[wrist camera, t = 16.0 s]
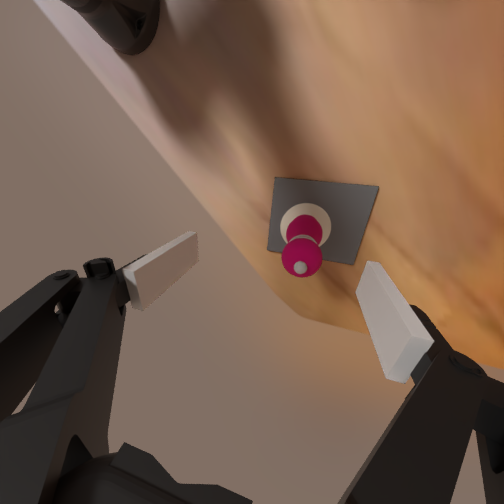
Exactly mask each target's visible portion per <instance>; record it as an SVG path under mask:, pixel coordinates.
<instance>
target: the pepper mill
mask: <svg viewBox="0 0 504 504" xmlns="http://www.w3.org/2000/svg"><path fill="white" fill-rule="evenodd" d="M322 236H323V231H322V227H321V225H320V223H319V222H318V221H317V220H316V219H315V218H314V217H313V216H311V215H307V214H304V215H300V216H297V217H296V218H295V219H294V220H293V221H292V222H291V223H290V224H289V225H288V227H287V231H286V239H287V242H288V243H287V245H286V246H285V247H284V249H283V252H282V263H283V266H284V268H285V269H286V270H287V271H288V272H289V273H290V274H292V275H294V276H297V277H308V276H311V275H313V274H314V273H315V272H316V271H317V270H318V269H319V268H320V266H321V264H322V252H321V249H320V247H319V246H318V245H319V244H320V242H321V240H322Z"/></svg>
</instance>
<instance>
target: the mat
mask: <svg viewBox="0 0 504 504" xmlns="http://www.w3.org/2000/svg"><path fill="white" fill-rule="evenodd" d="M378 188H379V186H369V185H358V184H346V183H335V182H323V181H312V180H300V179H289V178H277V177H275V181H274V191H273V200H272V209H271V219H270V228H269V237H268V246H267V250H269V251H275V252H281V253H282V252H283V249H284V247H285V246H286V245H287V243H288V242H287V239H286V231H287V227H288V225H289V224H290V223H291V222H292V221H293V220H294V219H295V218H296V217H297V216H300V215H304V214H307V215H311V216H313V217H314V218H315V219H316V220H317V221H318V222H319V223H320V225H321V227H322V231H323V236H322V240H321V242H320V244H319V245H318V246H319V247H320V249H321V252H322V260H327V261H333V262H339V263H345V264H350V265H353V264H354V261H355V258H356V255H357V252H358V249H359V246H360V243H361V240H362V237H363V234H364V231H365V228H366V225H367V221H368V218H369V215H370V212H371V209H372V206H373V203H374V200H375V197H376V194H377V191H378Z"/></svg>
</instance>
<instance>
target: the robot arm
mask: <svg viewBox="0 0 504 504" xmlns="http://www.w3.org/2000/svg"><path fill="white" fill-rule="evenodd" d="M61 1H62V2H64V3H65V4H67V5H68V6H70V7H71V8H73V9H74V10H76V11H77V12H78V13H79V14H80V15H81V16H82V17H83V18H84V19H85V20H86V21H87V23H88V24H89V25H90V26H91V27H92V28H93V29H94V30H95V31H96V32H97V33H98V34H99V35H100V37H101V38H102V39H103V40H104V41H105V42H107V43H108V44H109V45H110V46H112V47H114V48H115V49H117V50H119V51H120V52H122V53H125V54H129V55H134V54H138V53H140V52H142V51H143V50H145V49H146V48H147V47H148V45H149V44H150V43H151V41H152V39H153V37H154V35H155V32H156V29H157V25H158V19H159V0H61ZM198 257H199V256H198V241H197V232H192V231H188V232H186V233H184V234H183V235H181V236H179V237H177V238H175V239H174V240H172V241H170V242H168V243H167V244H165V245H163V246H162V247H160V248H158V249H156V250H154V251H153V252H151V253H149V254H146V255H143V256H141V257H140V258H138V259H137V260H134V261H133V262H132V263H129V264H127V265H125V266H124V267H122V268H120V269H118V270H116V271H115V267H114V264H113V260H112V259H110V258H97V259H93V260H90V261H88V262H86V263H85V264H84V265H83V267H84V270H85V272H86V275H87V278H79V276H78V274H77V271H75V270H61V271H57V272H56V273H53V274H51V275H49V276H47V277H46V278H45V279H44V280H42V281H41V282H39V283H38V284H37V285H35V286H34V287H33V288H32V289H30V290H29V291H27V292H26V293H25V294H24V295H22V296H21V297H20V298H18V299H17V300H16V301H14V302H13V303H12V304H10V305H9V306H8V307H6V308H5V309H4V310H2V311H1V312H0V504H252V502H253V501H252V500H249V499H247V498H245V497H243V496H241V495H239V494H237V493H234V492H232V491H230V490H227V489H226V488H223V487H221V486H219V485H208V484H207V485H206V484H180V483H177V482H176V481H175V480H174V479H173V478H172V477H171V476H170V474H169V473H168V472H167V471H166V470H165V469H164V468H163V467H162V465H161V464H160V463H159V462H158V461H157V460H156V459H155V458H154V456H153V455H151V454H149V453H147V452H145V451H142V450H140V449H138V448H136V447H134V446H131V445H129V444H127V443H125V442H124V444H123V445H122V446H121V448H120V449H119V451H118V452H116V453H109V447H108V437H107V436H108V426H109V419H110V413H111V406H112V400H113V393H114V387H115V380H116V374H117V367H118V360H119V354H120V346H121V341H122V334H123V327H124V321H125V315H126V306H125V304H126V303H127V302H128V301H131V305H132V308H134V309H138V310H141V311H144V309H145V308H147V307H148V306H149V305H150V304H151V303H152V302H153V301H155V300H156V299H157V298H158V297H159V296H160V295H161V294H163V293H164V292H165V291H166V290H167V289H168V288H169V287H170V286H172V285H173V284H174V283H175V282H176V281H177V280H178V279H179V278H180V277H181V276H183V275H184V274H185V273H186V272H187V271H188V270H189V269H190V268H192V267H193V266H194V265H195V264H196V263H197V262H198V261H199V258H198ZM355 293H356V295H357V298H358V301H359V304H360V307H361V310H362V312H363V315H364V318H365V321H366V324H367V327H368V329H369V332H370V335H371V338H372V341H373V343H374V346H375V349H376V352H377V354H378V358H379V360H380V363H381V366H382V369H383V372H384V375H385V377H386V379H389V380H393V381H397V382H400V383H404V384H405V383H406V381H407V380H408V378H409V377H410V376H411V377H412V379H413V381H414V383H415V386H414V387H413V388H412V390H411V391H410V393H409V394H408V395H407V397H406V398H405V401H404V402H403V404H402V405H401V407H400V408H399V410H398V411H397V413H396V415H395V416H394V418H393V419H392V421H391V422H390V424H389V425H388V427H387V428H386V430H385V431H384V433H383V434H382V436H381V437H380V439H379V441H378V442H377V444H376V445H375V447H374V448H373V450H372V451H371V453H370V454H369V456H368V458H367V459H366V461H365V462H364V464H363V465H362V467H361V468H360V470H359V471H358V473H357V475H356V476H355V478H354V479H353V481H352V482H351V484H350V485H349V487H348V488H347V490H346V491H345V493H344V494H343V496H342V497H341V499H340V501H339V502H338V504H450V502H451V498H452V495H453V492H454V489H455V485H456V482H457V479H458V476H459V472H460V469H461V465H462V462H463V459H464V456H465V452H466V449H467V446H468V443H469V439H470V436H471V433H472V429H474V430H475V431H476V437H477V443H478V450H479V457H480V464H481V470H482V477H483V484H484V491H485V497H486V504H504V383H502V382H500V381H497V380H495V379H493V378H490V377H488V376H487V374H486V373H485V371H484V370H483V369H482V368H481V367H480V366H479V365H478V364H477V363H476V362H475V361H473V360H472V359H470V358H469V357H467V356H466V355H464V354H461V353H459V352H457V351H454V350H453V349H452V347H451V346H450V345H449V344H448V342H447V341H446V340H445V338H444V337H443V336H442V334H441V333H440V332H439V330H438V329H436V327H435V325H434V324H433V323H432V322H431V320H430V319H429V317H428V316H427V315H426V314H425V313H424V312H423V311H422V310H421V309H419V308H418V307H417V306H415V305H410V304H408V303H407V301H406V300H405V298H404V297H403V296H402V294H401V293H400V291H399V290H398V288H397V287H396V286H395V284H394V283H393V281H392V280H391V278H390V277H389V275H388V274H387V273H386V271H385V270H384V268H383V267H382V265H381V264H380V263H379V262H373V261H367V263H366V265H365V268H364V271H363V273H362V276H361V279H360V282H359V284H358V287H357V290H356V292H355ZM56 305H57V306H58V309H59V310H58V311H57V312H56V313H55V312H54V310H55V306H56ZM36 381H37V382H36ZM35 383H36V384H35ZM34 384H35V386H34V388H33V390H32V392H31V394H30V396H29V398H28V400H27V402H26V404H25V406H24V407H23V409H22V410H21V411H20V412H19V413H16V414H13V415H11V414H12V413H13V412H14V410H15V409H16V408H17V406H18V405H19V403H20V402H21V401H22V400H23V398H24V397H25V396H26V394H27V393H28V392H29V390H30V389H31V388H32V387H33V385H34Z"/></svg>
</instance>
